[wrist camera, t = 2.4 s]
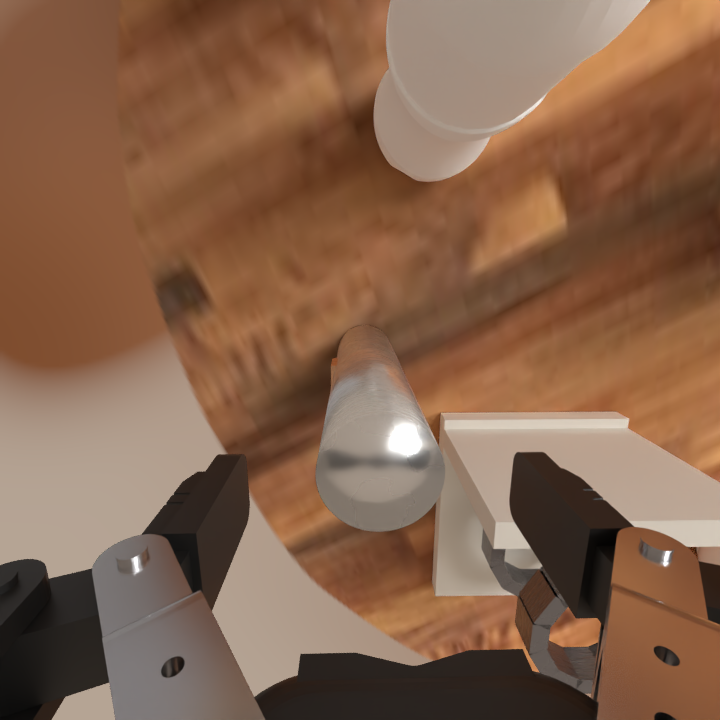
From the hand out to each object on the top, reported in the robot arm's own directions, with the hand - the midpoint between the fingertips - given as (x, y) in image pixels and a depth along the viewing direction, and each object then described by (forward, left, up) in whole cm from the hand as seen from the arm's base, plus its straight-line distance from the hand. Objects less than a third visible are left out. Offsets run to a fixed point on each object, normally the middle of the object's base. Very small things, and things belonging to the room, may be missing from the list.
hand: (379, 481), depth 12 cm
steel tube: (0, 0, -18) cm, 18 cm away
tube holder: (-13, +14, -18) cm, 27 cm away
